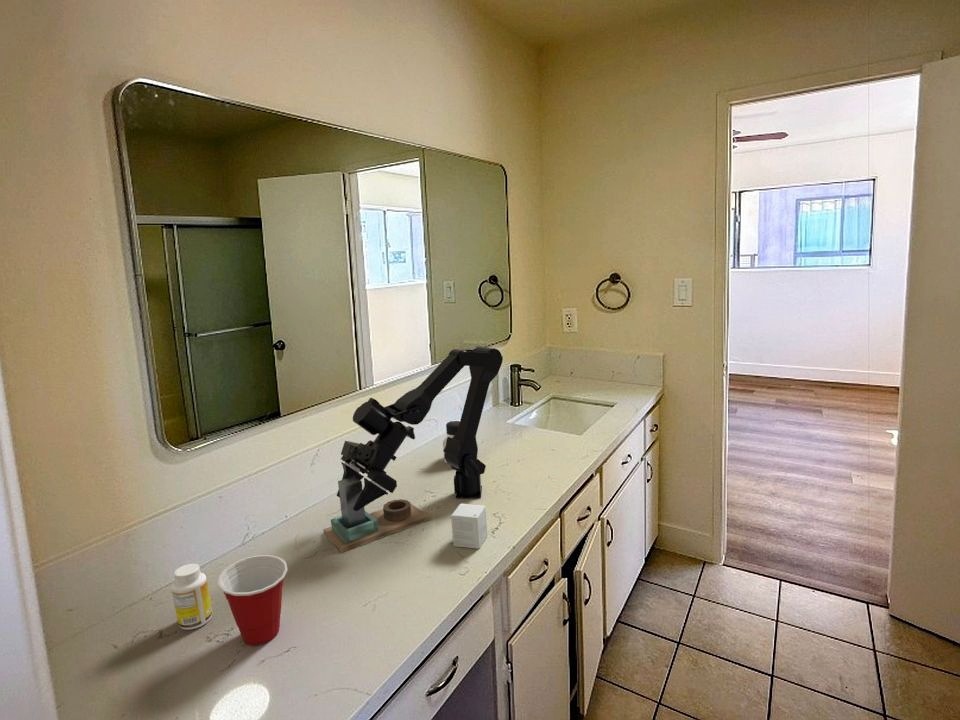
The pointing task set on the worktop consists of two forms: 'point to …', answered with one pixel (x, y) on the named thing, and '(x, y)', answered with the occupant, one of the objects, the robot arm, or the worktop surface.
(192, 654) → the worktop surface
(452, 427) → the medicine bottle
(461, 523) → the product box
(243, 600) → the plastic cup
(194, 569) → the supplement bottle
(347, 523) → the square bit
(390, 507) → the bit holder
